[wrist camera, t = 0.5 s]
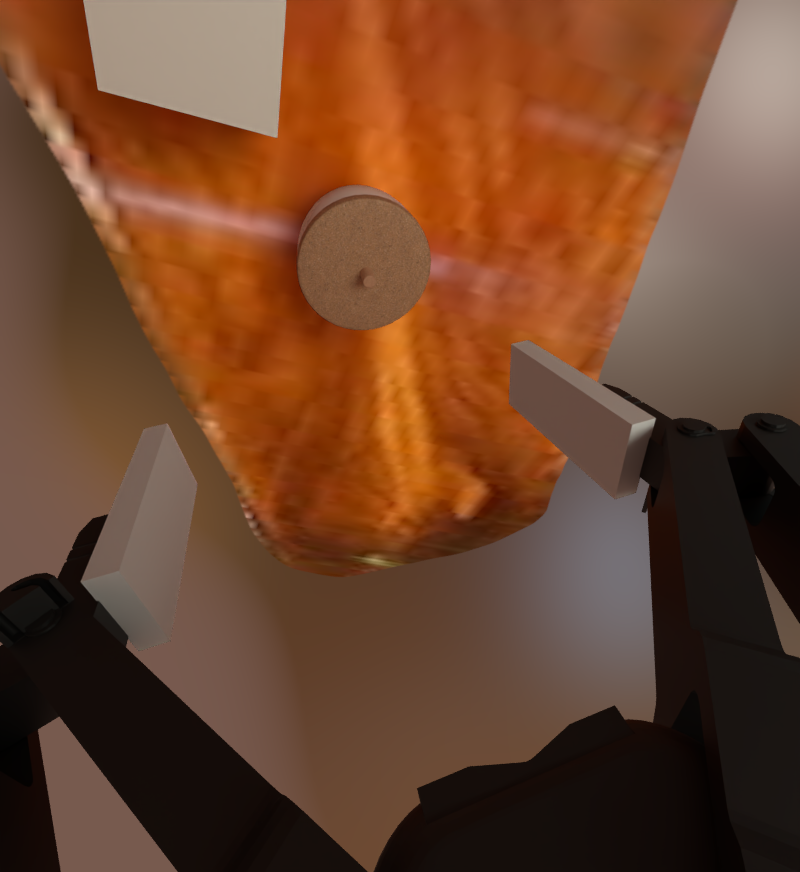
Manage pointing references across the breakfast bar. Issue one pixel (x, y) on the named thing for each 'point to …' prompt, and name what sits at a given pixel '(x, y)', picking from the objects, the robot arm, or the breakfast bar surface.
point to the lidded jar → (361, 258)
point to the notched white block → (193, 56)
